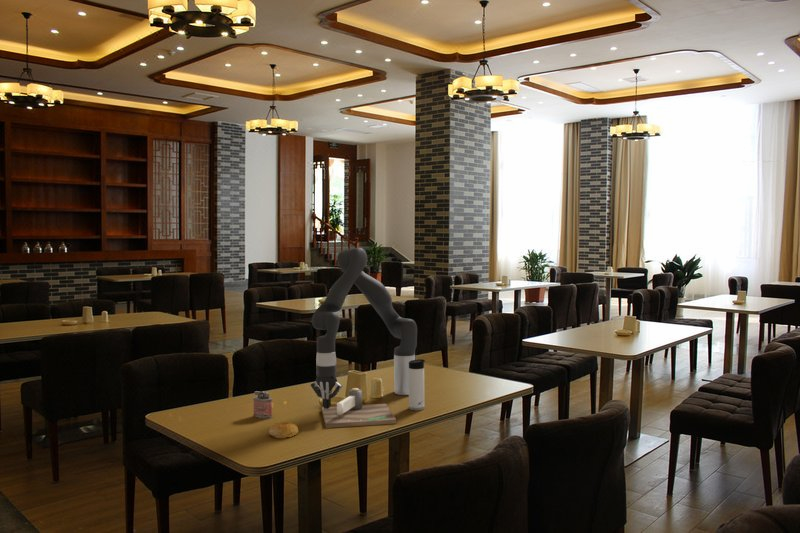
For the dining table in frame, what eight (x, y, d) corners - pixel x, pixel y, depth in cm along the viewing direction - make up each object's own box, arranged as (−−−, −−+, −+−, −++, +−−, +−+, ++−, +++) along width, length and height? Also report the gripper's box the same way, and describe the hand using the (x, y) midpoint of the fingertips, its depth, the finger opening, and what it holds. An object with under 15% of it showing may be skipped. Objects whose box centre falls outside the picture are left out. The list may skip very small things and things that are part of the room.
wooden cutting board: (321, 411, 261) (321, 407, 261) (385, 407, 266) (385, 403, 266) (326, 427, 239) (325, 423, 239) (396, 423, 244) (396, 419, 243)
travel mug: (423, 411, 260) (423, 361, 259) (407, 410, 261) (407, 360, 260) (426, 406, 266) (426, 358, 265) (410, 406, 268) (410, 357, 267)
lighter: (274, 416, 254) (273, 391, 253) (269, 419, 251) (269, 393, 250) (256, 414, 257) (255, 389, 256) (251, 417, 253) (251, 391, 253)
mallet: (352, 405, 263) (351, 387, 262) (364, 406, 261) (363, 387, 260) (332, 418, 245) (332, 398, 245) (345, 419, 244) (344, 399, 243)
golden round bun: (305, 433, 233) (305, 420, 232) (281, 441, 224) (280, 428, 224) (287, 428, 239) (287, 415, 239) (263, 436, 231) (262, 423, 230)
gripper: (306, 364, 248) (306, 409, 249) (337, 366, 244) (338, 412, 245) (315, 360, 255) (315, 404, 256) (346, 362, 251) (346, 407, 252)
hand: (326, 408), depth 251 cm, fingers closed
